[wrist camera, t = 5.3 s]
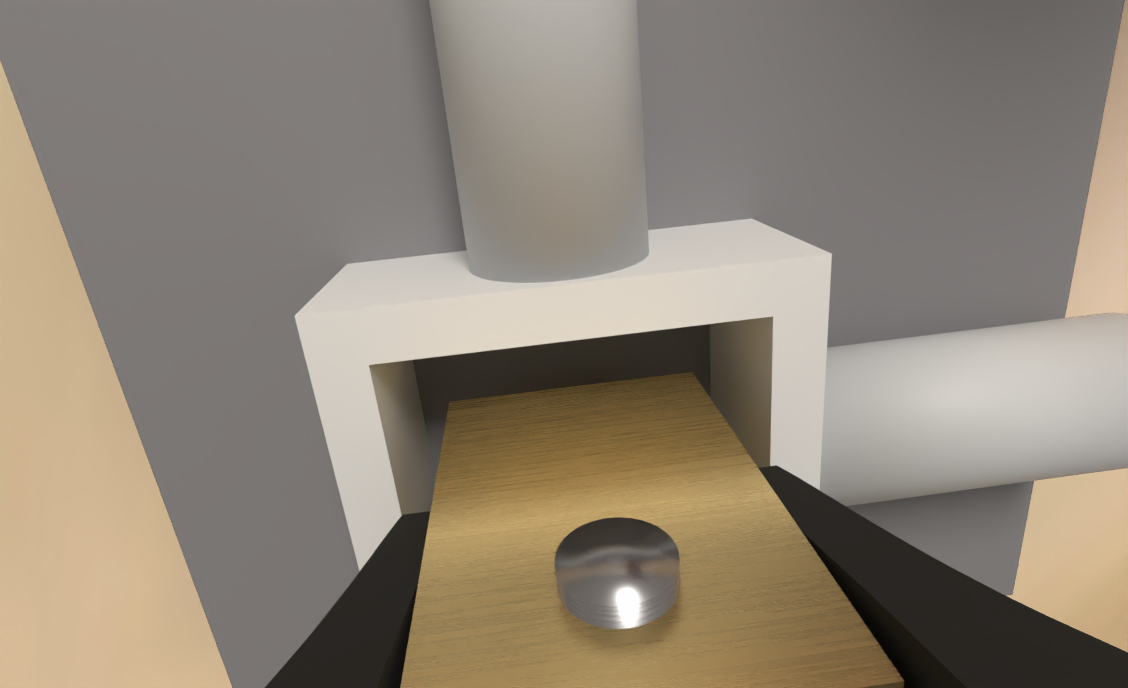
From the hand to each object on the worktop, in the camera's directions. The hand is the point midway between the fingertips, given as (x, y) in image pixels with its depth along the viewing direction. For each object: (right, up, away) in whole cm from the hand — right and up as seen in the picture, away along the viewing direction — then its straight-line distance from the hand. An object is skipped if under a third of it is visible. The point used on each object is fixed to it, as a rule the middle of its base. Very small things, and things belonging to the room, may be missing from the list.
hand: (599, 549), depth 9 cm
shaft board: (0, +5, +4) cm, 6 cm away
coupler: (0, 0, +2) cm, 2 cm away
